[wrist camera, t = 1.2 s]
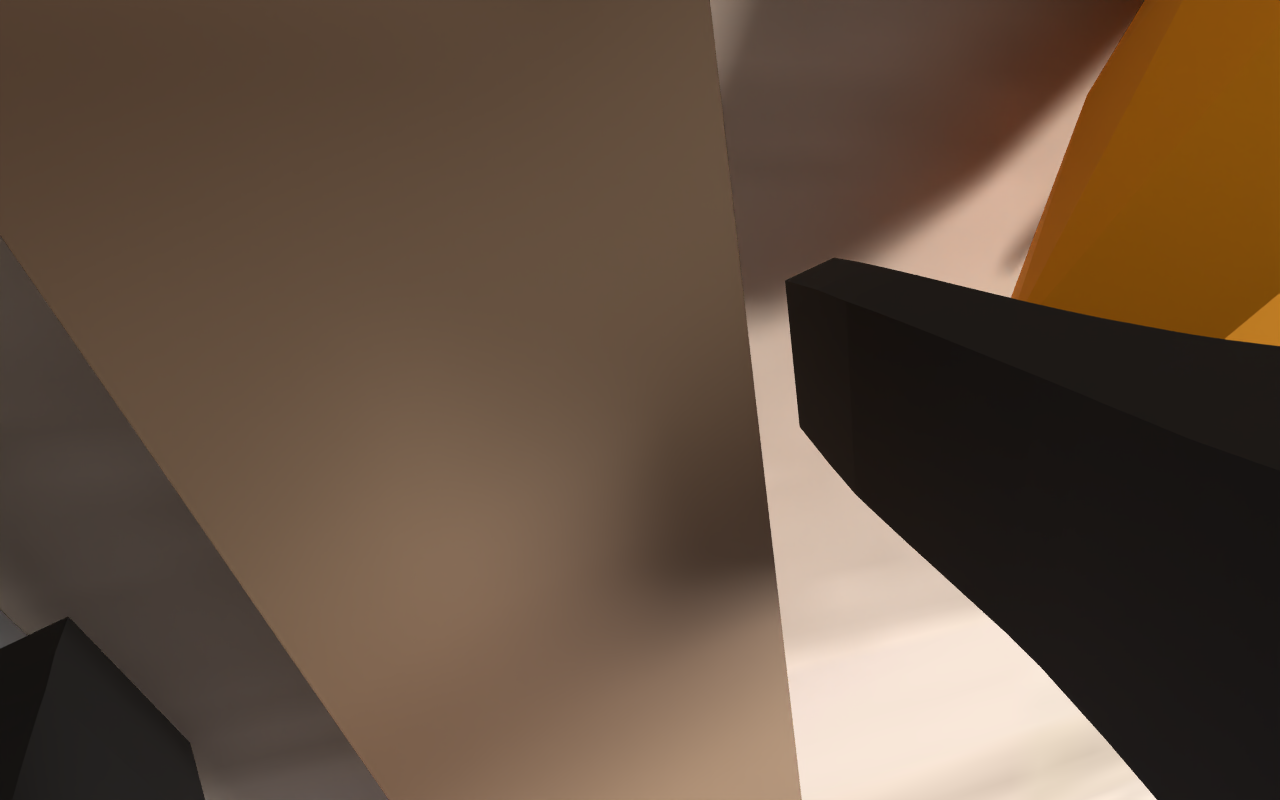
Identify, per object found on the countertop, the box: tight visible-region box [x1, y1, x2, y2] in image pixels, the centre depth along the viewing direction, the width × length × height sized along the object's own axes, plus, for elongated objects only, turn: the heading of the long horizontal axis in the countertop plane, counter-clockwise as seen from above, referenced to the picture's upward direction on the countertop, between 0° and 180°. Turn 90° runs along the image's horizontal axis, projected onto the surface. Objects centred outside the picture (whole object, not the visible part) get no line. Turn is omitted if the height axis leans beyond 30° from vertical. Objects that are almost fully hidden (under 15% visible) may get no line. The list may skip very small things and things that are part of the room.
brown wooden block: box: [0, 0, 802, 800], centre depth 9 cm, size 18×4×5 cm, turn 10°
